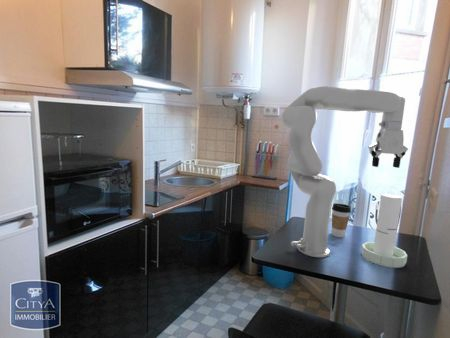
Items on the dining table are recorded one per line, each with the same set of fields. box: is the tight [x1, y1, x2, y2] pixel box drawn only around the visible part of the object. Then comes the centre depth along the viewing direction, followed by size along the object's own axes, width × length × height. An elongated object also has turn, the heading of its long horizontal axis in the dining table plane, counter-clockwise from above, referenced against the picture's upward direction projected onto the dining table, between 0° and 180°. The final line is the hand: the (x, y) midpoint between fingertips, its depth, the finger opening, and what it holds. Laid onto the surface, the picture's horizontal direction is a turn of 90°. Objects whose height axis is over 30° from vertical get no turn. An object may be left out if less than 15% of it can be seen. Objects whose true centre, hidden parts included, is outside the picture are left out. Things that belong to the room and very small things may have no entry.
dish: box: [361, 241, 408, 269], centre depth 120 cm, size 16×16×4 cm
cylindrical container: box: [373, 193, 403, 257], centre depth 119 cm, size 7×7×25 cm
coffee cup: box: [331, 202, 351, 238], centre depth 144 cm, size 8×8×15 cm
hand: (385, 166), depth 127 cm, fingers open, 9 cm apart
